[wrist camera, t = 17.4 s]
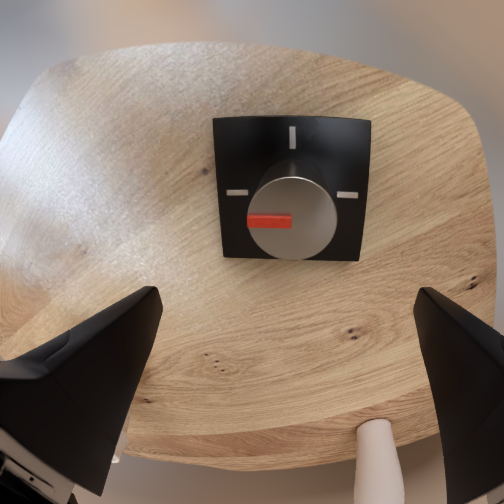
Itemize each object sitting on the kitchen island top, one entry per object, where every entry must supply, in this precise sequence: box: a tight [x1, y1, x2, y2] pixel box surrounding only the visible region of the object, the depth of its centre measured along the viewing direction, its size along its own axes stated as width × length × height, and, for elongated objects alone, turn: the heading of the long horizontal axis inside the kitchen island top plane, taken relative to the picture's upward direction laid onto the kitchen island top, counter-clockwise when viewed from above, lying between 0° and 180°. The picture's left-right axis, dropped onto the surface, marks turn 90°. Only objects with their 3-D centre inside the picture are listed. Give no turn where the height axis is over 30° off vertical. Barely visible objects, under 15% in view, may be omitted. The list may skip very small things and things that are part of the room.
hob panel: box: [213, 115, 371, 261], centre depth 19 cm, size 10×10×2 cm
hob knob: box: [247, 160, 337, 260], centre depth 16 cm, size 4×4×5 cm
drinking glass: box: [354, 419, 405, 504], centre depth 27 cm, size 7×7×15 cm
